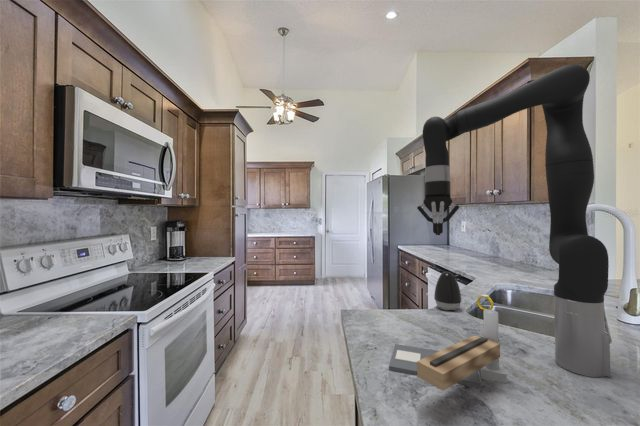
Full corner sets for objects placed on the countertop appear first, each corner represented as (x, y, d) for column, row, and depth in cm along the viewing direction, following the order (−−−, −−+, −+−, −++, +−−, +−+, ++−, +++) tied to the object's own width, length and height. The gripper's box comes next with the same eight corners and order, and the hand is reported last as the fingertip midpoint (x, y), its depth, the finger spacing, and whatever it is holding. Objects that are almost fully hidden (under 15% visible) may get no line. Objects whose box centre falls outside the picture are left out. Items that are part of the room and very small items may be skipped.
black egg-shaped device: (465, 313, 110) (465, 274, 110) (437, 312, 111) (437, 273, 112) (457, 305, 120) (456, 269, 120) (431, 304, 121) (431, 269, 122)
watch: (494, 311, 112) (495, 297, 112) (490, 313, 111) (491, 298, 111) (479, 306, 117) (480, 292, 117) (475, 307, 116) (476, 293, 116)
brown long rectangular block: (474, 347, 68) (474, 332, 68) (500, 357, 63) (499, 340, 63) (417, 376, 55) (417, 358, 56) (443, 390, 51) (443, 370, 51)
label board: (497, 364, 72) (496, 305, 72) (511, 393, 59) (510, 322, 60) (395, 347, 81) (394, 295, 81) (389, 370, 69) (388, 308, 69)
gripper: (414, 180, 89) (415, 235, 89) (461, 178, 84) (462, 236, 84) (416, 183, 96) (416, 234, 96) (459, 181, 91) (459, 234, 91)
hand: (438, 234), depth 90 cm, fingers closed
